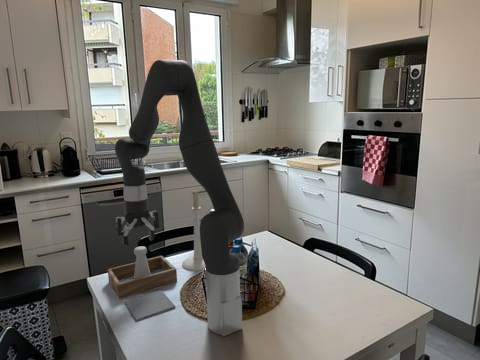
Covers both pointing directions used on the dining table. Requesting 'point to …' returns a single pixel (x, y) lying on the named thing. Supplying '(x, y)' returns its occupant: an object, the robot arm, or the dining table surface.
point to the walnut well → (144, 282)
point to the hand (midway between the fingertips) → (139, 242)
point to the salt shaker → (141, 263)
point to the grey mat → (149, 305)
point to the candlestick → (195, 240)
